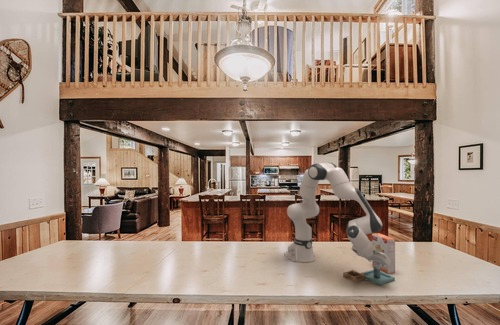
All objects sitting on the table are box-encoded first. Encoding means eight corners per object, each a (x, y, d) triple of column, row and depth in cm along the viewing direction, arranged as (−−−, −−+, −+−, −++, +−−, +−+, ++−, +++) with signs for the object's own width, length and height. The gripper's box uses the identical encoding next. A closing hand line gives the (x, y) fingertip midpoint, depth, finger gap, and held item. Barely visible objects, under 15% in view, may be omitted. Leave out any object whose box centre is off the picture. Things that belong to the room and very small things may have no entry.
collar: (343, 276, 151) (343, 272, 151) (352, 274, 155) (352, 270, 155) (354, 282, 144) (354, 277, 144) (364, 279, 148) (364, 274, 148)
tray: (359, 276, 151) (359, 273, 151) (374, 272, 157) (374, 269, 157) (380, 285, 140) (380, 282, 140) (394, 280, 146) (394, 277, 146)
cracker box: (371, 265, 169) (371, 233, 169) (379, 264, 170) (379, 232, 170) (387, 274, 155) (386, 239, 155) (395, 273, 156) (395, 238, 156)
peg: (372, 276, 149) (372, 255, 150) (376, 275, 151) (376, 254, 151) (377, 279, 146) (377, 257, 146) (381, 277, 148) (381, 256, 148)
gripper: (386, 249, 136) (397, 264, 141) (353, 239, 154) (364, 253, 159) (380, 259, 134) (392, 274, 139) (348, 248, 152) (360, 262, 157)
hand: (377, 263), depth 149 cm, fingers open, 8 cm apart
